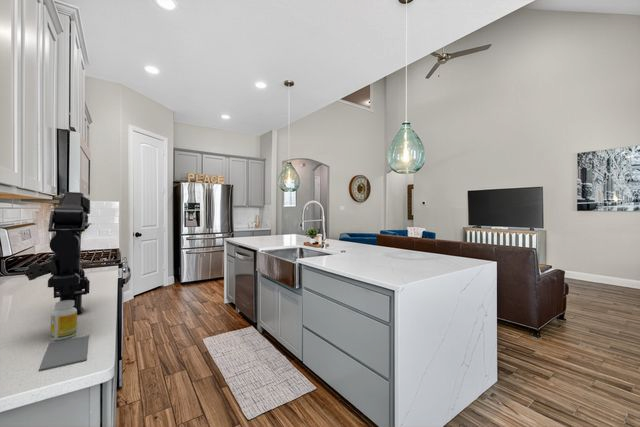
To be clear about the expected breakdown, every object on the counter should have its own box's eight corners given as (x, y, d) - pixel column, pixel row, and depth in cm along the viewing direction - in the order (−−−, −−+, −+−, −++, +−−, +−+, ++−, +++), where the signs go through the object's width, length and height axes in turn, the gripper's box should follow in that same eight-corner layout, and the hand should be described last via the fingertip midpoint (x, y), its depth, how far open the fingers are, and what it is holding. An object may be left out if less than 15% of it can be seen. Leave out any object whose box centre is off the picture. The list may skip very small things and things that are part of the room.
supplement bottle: (44, 341, 76) (45, 305, 76) (60, 332, 81) (62, 299, 82) (66, 340, 77) (67, 304, 77) (81, 332, 82) (82, 299, 82)
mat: (49, 344, 74) (49, 342, 74) (88, 336, 79) (88, 335, 79) (38, 371, 62) (38, 369, 62) (86, 360, 67) (86, 358, 67)
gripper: (34, 249, 85) (32, 302, 85) (20, 256, 70) (18, 320, 70) (83, 247, 92) (81, 296, 92) (79, 254, 77) (77, 312, 77)
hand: (65, 305), depth 82 cm, fingers closed
